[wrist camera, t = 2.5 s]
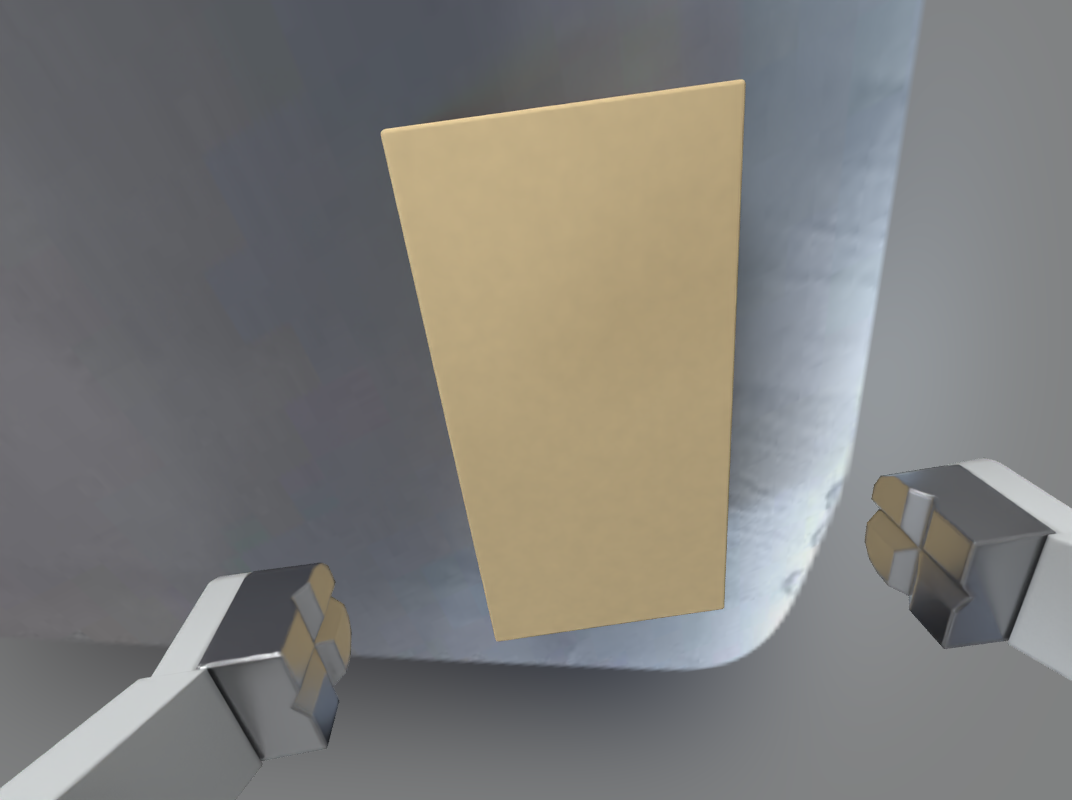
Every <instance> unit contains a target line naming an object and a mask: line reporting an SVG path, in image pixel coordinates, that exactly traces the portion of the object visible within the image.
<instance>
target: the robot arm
mask: <svg viewBox="0 0 1072 800" xmlns="http://www.w3.org/2000/svg"><path fill="white" fill-rule="evenodd" d="M871 499H872V500H873V502H874V503H875V504H876V505H877V507H878V508H879V510H878V511H877V512H876V513H875V515H874V516H873V517H872V518H871V519H870V520H869V521H868V522H867V526H866V534H865V544H866V548H867V552H868V556H869V559H870V561H871V563H872V565H873V567H874V568H875V570H876V572H877V573H878V575H879V576H880V577H881V578H882V579H883V580H884V582H885V583H886V584H887V585H888V586H890V587H892V588H894V589H896V590H898V591H900V592H902V593H904V594H906V595H908V596H909V610H910V611H911V612H912V614H913V615H914V616H915V617H916V618H917V619H918V620H919V621H920V622H921V624H922V625H923V626H924V627H925V628H926V629H927V630H928V631H929V632H930V634H931V635H932V636H933V637H934V638H935V639H936V640H937V642H938V643H939V644H940V645H941V646H942V647H943V648H944V649H947V648H955V647H963V646H970V645H978V644H985V643H993V642H1001V641H1008V640H1009V641H1008V645H1010V646H1012V647H1014V648H1016V649H1017V650H1019V651H1021V652H1022V653H1024V654H1026V655H1028V656H1029V657H1031V658H1033V659H1035V660H1036V661H1038V662H1040V663H1042V664H1043V665H1045V666H1047V667H1048V668H1050V669H1052V670H1054V671H1055V672H1057V673H1059V674H1060V675H1062V676H1064V677H1066V678H1067V679H1069V680H1071V681H1072V509H1071V508H1070V507H1068V506H1067V505H1065V504H1063V503H1062V502H1060V501H1059V500H1057V499H1055V498H1054V497H1053V496H1051V495H1050V494H1048V493H1046V492H1045V491H1043V490H1042V489H1040V488H1039V487H1037V486H1035V485H1034V484H1032V483H1031V482H1029V481H1028V480H1026V479H1025V478H1023V477H1022V476H1020V475H1018V474H1017V473H1015V472H1014V471H1012V470H1011V469H1009V468H1008V467H1006V466H1004V465H1003V464H1001V463H1000V462H998V461H994V460H990V459H986V458H980V459H975V460H969V461H964V462H958V463H952V464H949V465H947V466H939V467H933V468H927V469H920V470H915V471H908V472H902V473H895V474H889V475H883V476H880V478H879V479H878V480H877V482H876V483H875V484H874V489H873V494H872V498H871ZM335 583H336V582H335V580H334V578H333V575H332V573H331V571H330V569H329V566H328V565H326V564H323V563H314V564H306V565H298V566H291V567H283V568H276V569H268V570H261V571H254V572H252V573H242V574H235V575H228V576H220V577H218V578H216V579H214V580H213V581H211V582H210V583H209V584H208V585H207V587H206V588H205V590H204V592H203V593H202V595H201V596H200V598H199V600H198V601H197V603H196V605H195V606H194V608H193V610H192V611H191V613H190V614H189V616H188V618H187V619H186V621H185V623H184V624H183V626H182V627H181V629H180V631H179V632H178V634H177V636H176V637H175V639H174V640H173V642H172V644H171V645H170V647H169V649H168V651H167V652H166V654H165V655H164V657H163V658H162V660H161V662H160V663H159V665H158V667H157V668H156V670H155V671H154V673H153V675H152V676H151V677H150V678H143V679H139V680H137V681H136V682H135V683H133V684H132V685H131V686H130V687H128V688H127V689H126V690H124V691H123V692H122V693H121V694H119V695H118V696H117V697H116V698H114V699H113V700H112V701H110V702H109V703H108V704H107V705H105V706H104V707H103V708H102V709H100V710H99V711H98V712H96V713H95V714H94V715H93V716H92V717H90V718H89V719H88V720H86V721H85V722H84V723H83V724H81V725H80V726H79V727H78V728H76V729H75V730H74V731H72V732H71V733H70V734H69V735H67V736H66V737H65V738H63V739H62V740H61V741H60V742H58V743H57V744H56V745H55V746H53V747H52V748H51V749H50V750H48V751H47V752H46V753H44V754H43V755H42V756H41V757H39V758H38V759H37V760H35V761H34V762H33V763H32V764H30V765H29V766H28V767H27V768H25V769H24V770H23V771H21V772H20V773H19V774H18V775H16V776H15V777H14V778H13V779H12V780H10V781H9V782H7V783H6V784H5V785H4V786H2V787H1V788H0V800H236V799H237V797H238V796H239V795H240V793H241V792H242V791H243V790H244V788H245V787H246V786H247V784H248V783H249V782H250V781H251V779H252V778H253V777H254V775H255V774H256V773H257V771H258V770H259V769H260V768H261V766H262V762H261V761H265V760H269V759H275V758H280V757H285V756H291V755H296V754H301V753H306V752H311V751H317V750H322V749H327V746H328V742H329V739H330V735H331V731H332V727H333V723H334V719H335V716H336V712H337V708H338V704H339V699H338V697H337V694H336V692H335V690H334V688H333V686H334V685H335V684H336V683H337V682H338V681H339V680H340V679H341V677H342V676H343V675H344V674H345V673H346V672H347V668H348V664H349V660H350V655H351V637H352V632H351V626H350V620H349V616H348V613H347V611H346V608H345V605H344V604H342V603H341V602H339V601H338V600H336V599H335V598H333V597H332V596H331V595H332V592H333V589H334V586H335Z"/></svg>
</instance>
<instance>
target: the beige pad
mask: <svg viewBox="0 0 1072 800" xmlns="http://www.w3.org/2000/svg"><path fill="white" fill-rule="evenodd" d="M745 85H746V84H745V81H744V80H742V79H740V80H733V81H726V82H719V83H712V84H704V85H697V86H690V87H683V88H676V89H669V90H661V91H654V92H647V93H640V94H633V95H626V96H619V97H611V98H604V99H597V100H590V101H583V102H576V103H569V104H561V105H554V106H547V107H540V108H533V109H526V110H518V111H511V112H504V113H497V114H490V115H483V116H476V117H468V118H461V119H454V120H447V121H440V122H433V123H426V124H418V125H411V126H404V127H397V128H390V129H384V130H382V131H381V138H382V142H383V147H384V151H385V155H386V160H387V164H388V169H389V173H390V177H391V182H392V186H393V191H394V195H395V199H396V204H397V208H398V213H399V217H400V221H401V226H402V230H403V235H404V239H405V243H406V248H407V252H408V257H409V261H410V265H411V270H412V274H413V279H414V283H415V287H416V292H417V296H418V301H419V305H420V309H421V314H422V318H423V323H424V327H425V331H426V336H427V340H428V345H429V349H430V353H431V358H432V362H433V367H434V371H435V375H436V380H437V384H438V389H439V393H440V397H441V402H442V406H443V411H444V415H445V419H446V424H447V428H448V433H449V437H450V441H451V446H452V450H453V455H454V459H455V463H456V468H457V472H458V477H459V481H460V485H461V490H462V494H463V499H464V503H465V507H466V512H467V516H468V521H469V525H470V529H471V534H472V538H473V543H474V547H475V551H476V556H477V560H478V565H479V569H480V573H481V578H482V582H483V587H484V591H485V595H486V600H487V604H488V609H489V613H490V617H491V622H492V626H493V631H494V635H495V639H496V641H505V640H512V639H519V638H525V637H532V636H539V635H546V634H553V633H560V632H567V631H574V630H581V629H588V628H594V627H601V626H608V625H615V624H622V623H629V622H636V621H643V620H650V619H657V618H663V617H670V616H677V615H684V614H691V613H698V612H705V611H712V610H719V609H723V608H724V599H725V575H726V550H727V526H728V501H729V477H730V452H731V428H732V403H733V379H734V354H735V330H736V305H737V281H738V256H739V232H740V207H741V183H742V158H743V134H744V109H745Z"/></svg>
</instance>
